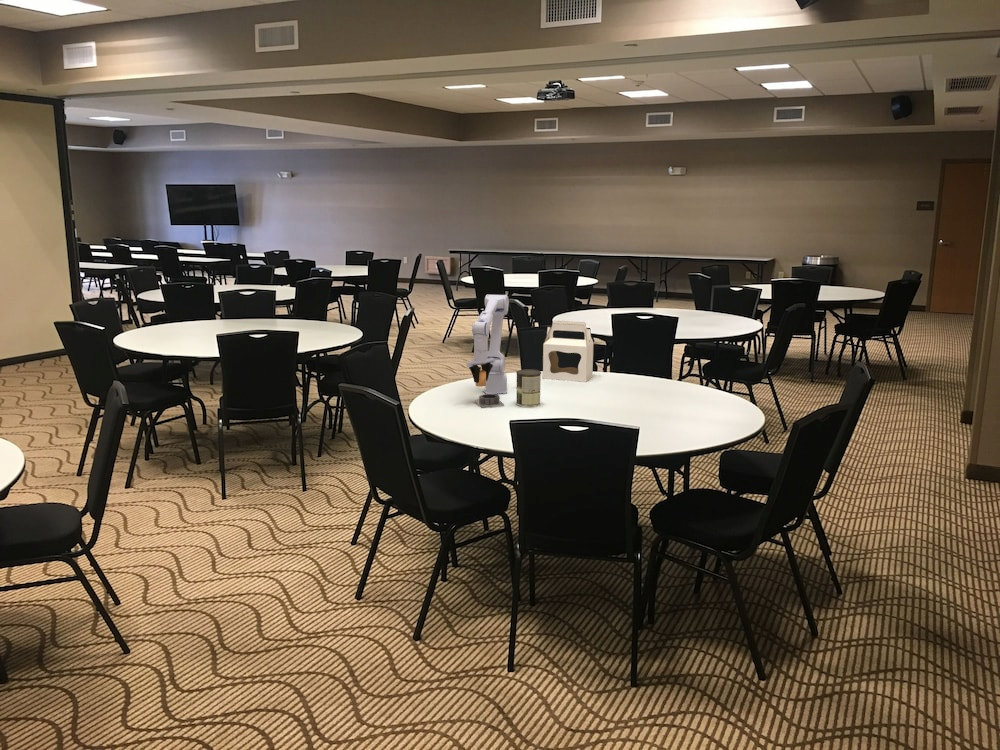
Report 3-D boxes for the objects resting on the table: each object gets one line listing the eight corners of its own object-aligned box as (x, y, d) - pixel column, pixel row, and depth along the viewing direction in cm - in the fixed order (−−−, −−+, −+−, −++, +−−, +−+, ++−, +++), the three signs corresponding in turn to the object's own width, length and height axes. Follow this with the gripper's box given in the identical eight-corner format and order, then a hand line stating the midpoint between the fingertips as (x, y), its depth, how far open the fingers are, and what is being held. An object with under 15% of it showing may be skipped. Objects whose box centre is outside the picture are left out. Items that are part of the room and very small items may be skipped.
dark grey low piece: (497, 401, 330) (497, 393, 329) (504, 406, 321) (504, 398, 320) (474, 402, 327) (474, 394, 326) (481, 408, 318) (481, 399, 317)
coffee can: (511, 404, 323) (511, 372, 321) (524, 400, 332) (525, 368, 329) (531, 408, 318) (532, 375, 315) (545, 403, 326) (545, 371, 323)
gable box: (542, 378, 376) (543, 322, 370) (549, 373, 388) (550, 318, 382) (586, 382, 368) (588, 324, 362) (592, 377, 380) (594, 321, 374)
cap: (482, 383, 330) (482, 369, 328) (487, 385, 326) (487, 371, 325) (473, 385, 327) (473, 370, 326) (478, 386, 324) (478, 372, 322)
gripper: (486, 346, 331) (486, 377, 334) (461, 350, 321) (461, 382, 324) (498, 348, 326) (498, 380, 329) (472, 352, 316) (472, 385, 319)
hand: (480, 381), depth 326 cm, fingers closed on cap, 4 cm apart
